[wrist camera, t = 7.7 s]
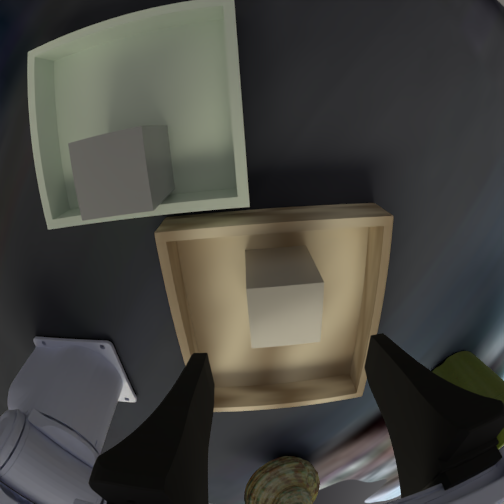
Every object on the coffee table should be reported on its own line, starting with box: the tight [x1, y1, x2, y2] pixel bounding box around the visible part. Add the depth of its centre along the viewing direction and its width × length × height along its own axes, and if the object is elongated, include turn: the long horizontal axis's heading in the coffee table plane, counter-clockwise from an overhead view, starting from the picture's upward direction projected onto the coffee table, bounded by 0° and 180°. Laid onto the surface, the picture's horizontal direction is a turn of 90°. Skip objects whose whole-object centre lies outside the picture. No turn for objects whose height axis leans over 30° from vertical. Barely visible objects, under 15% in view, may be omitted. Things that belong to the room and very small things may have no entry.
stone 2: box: [245, 245, 324, 348], centre depth 19 cm, size 4×4×5 cm
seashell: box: [244, 456, 320, 504], centre depth 29 cm, size 11×11×10 cm
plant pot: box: [432, 351, 504, 449], centre depth 23 cm, size 12×12×11 cm
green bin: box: [28, 0, 250, 230], centre depth 15 cm, size 13×12×3 cm
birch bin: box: [154, 203, 393, 412], centre depth 21 cm, size 14×16×3 cm
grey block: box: [68, 125, 175, 221], centre depth 15 cm, size 4×4×5 cm
